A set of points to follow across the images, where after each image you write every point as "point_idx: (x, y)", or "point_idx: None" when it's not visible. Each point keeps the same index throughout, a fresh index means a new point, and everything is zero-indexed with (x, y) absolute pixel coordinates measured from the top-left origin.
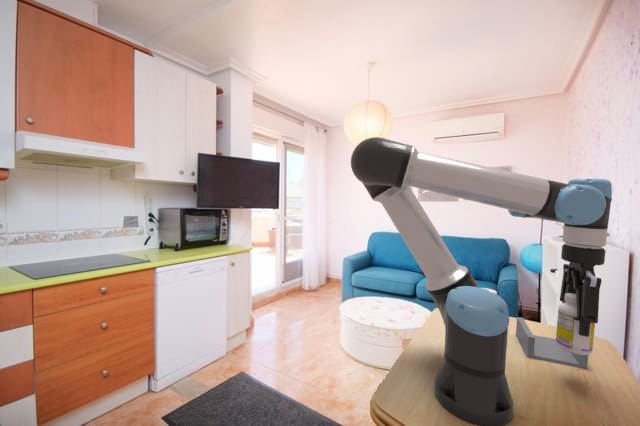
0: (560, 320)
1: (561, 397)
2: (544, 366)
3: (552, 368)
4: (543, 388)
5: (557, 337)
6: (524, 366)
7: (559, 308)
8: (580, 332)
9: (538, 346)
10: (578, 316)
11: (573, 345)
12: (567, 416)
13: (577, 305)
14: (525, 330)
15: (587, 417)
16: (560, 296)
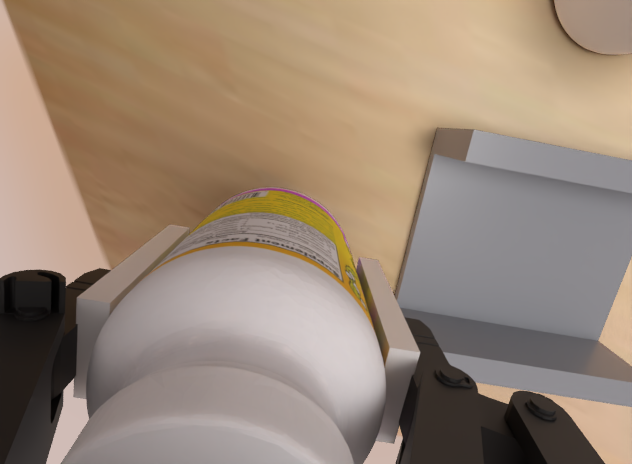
0: (236, 223)
1: (165, 128)
2: (372, 169)
3: (363, 194)
4: (204, 86)
5: (273, 193)
6: (353, 80)
7: (255, 256)
8: (95, 277)
9: (523, 214)
10: (18, 318)
11: (167, 226)
12: (56, 91)
13: (3, 398)
14: (555, 149)
15: (78, 158)
16: (572, 429)
